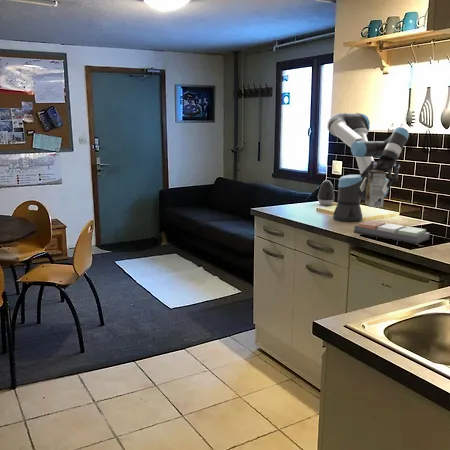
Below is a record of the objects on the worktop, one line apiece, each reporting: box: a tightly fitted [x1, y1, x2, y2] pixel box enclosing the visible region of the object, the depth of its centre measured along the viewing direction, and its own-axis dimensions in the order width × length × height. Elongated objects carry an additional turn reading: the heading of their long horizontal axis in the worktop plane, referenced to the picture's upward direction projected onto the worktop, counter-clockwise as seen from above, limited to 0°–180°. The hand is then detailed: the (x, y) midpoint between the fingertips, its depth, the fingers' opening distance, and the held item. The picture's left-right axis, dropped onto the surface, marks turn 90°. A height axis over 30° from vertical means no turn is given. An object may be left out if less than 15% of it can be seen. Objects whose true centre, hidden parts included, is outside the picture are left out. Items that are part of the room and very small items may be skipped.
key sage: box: [398, 226, 427, 237], centre depth 217 cm, size 8×11×2 cm
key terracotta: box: [357, 219, 386, 229], centre depth 230 cm, size 8×11×2 cm
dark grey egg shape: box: [317, 179, 335, 206], centre depth 303 cm, size 10×10×15 cm
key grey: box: [377, 223, 406, 233], centre depth 224 cm, size 8×11×2 cm
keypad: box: [353, 224, 431, 245], centre depth 224 cm, size 30×14×3 cm, turn 46°
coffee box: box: [364, 170, 387, 208], centre depth 226 cm, size 9×6×16 cm
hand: (372, 190), depth 224 cm, fingers closed on coffee box, 10 cm apart
